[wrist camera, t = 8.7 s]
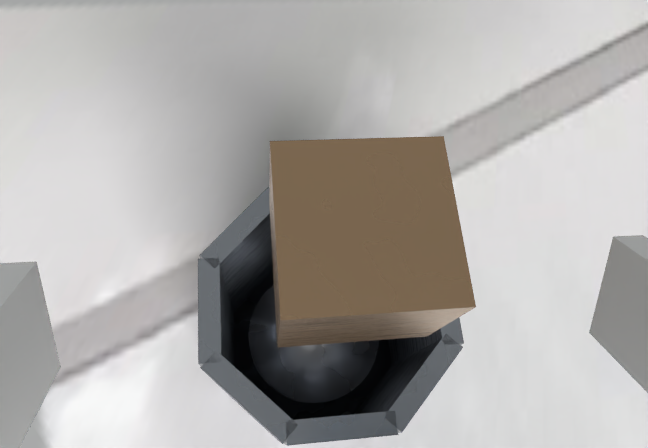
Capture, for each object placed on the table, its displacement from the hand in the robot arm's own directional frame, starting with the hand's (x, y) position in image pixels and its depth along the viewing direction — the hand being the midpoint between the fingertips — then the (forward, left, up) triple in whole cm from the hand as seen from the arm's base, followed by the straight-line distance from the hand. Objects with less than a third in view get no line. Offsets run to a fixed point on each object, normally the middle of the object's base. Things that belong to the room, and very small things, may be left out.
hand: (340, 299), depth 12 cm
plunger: (-1, -2, -16) cm, 16 cm away
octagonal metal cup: (-1, -2, -18) cm, 18 cm away
